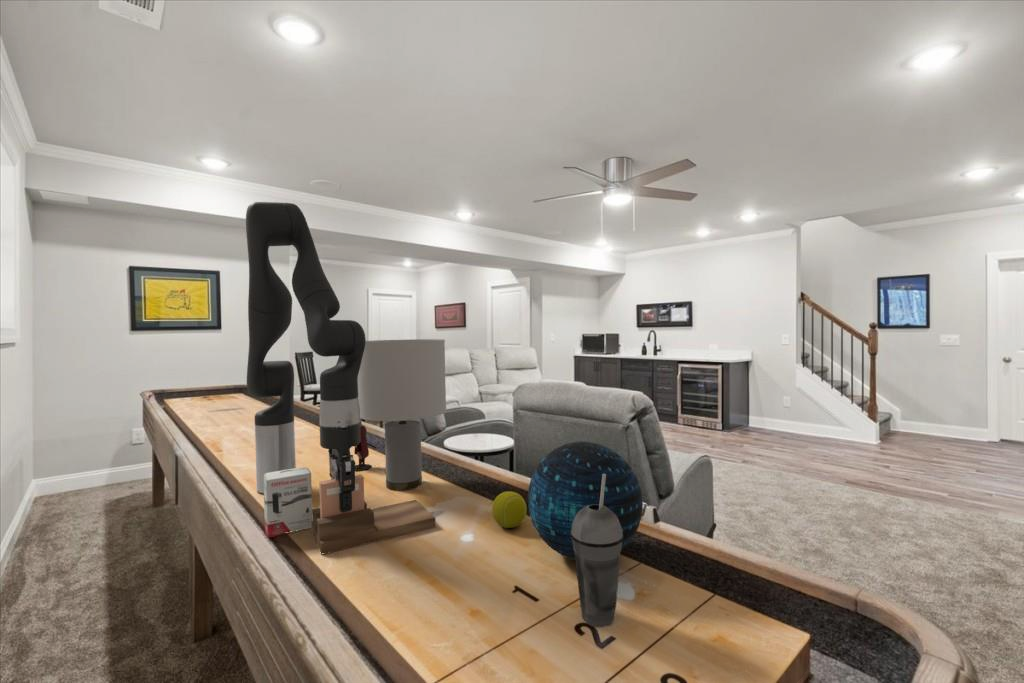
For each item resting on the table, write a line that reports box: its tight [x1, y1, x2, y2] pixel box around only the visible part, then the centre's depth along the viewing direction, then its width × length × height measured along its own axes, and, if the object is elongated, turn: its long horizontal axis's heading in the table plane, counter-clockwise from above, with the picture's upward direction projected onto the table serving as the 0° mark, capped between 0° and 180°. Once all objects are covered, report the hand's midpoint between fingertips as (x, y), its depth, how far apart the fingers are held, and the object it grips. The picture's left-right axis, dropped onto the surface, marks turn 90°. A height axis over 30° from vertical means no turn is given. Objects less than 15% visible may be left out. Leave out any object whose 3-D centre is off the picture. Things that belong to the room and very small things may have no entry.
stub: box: [318, 474, 365, 518], centre depth 93 cm, size 2×8×9 cm, turn 120°
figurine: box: [354, 419, 378, 472], centre depth 140 cm, size 7×7×15 cm
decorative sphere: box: [527, 441, 644, 561], centre depth 83 cm, size 20×20×20 cm
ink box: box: [263, 466, 313, 539], centre depth 97 cm, size 8×5×12 cm, turn 123°
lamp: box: [358, 338, 447, 491], centre depth 124 cm, size 23×23×38 cm
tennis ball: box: [491, 491, 528, 529], centre depth 97 cm, size 7×7×7 cm
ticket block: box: [311, 499, 436, 555], centre depth 96 cm, size 12×22×5 cm, turn 121°
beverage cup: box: [570, 474, 624, 628], centre depth 65 cm, size 7×7×20 cm
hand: (342, 505), depth 93 cm, fingers open, 6 cm apart
